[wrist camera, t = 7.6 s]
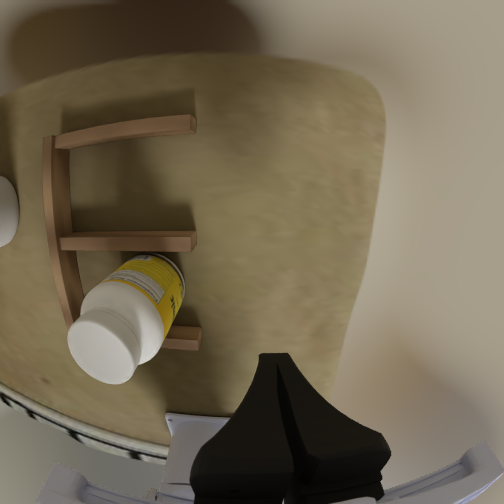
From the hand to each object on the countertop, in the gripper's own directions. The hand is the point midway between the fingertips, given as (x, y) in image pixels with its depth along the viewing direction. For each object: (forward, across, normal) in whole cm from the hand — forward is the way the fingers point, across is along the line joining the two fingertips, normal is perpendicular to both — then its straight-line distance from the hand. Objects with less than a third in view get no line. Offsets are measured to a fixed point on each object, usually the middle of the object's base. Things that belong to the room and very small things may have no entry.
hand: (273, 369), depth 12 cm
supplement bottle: (+9, +9, 0) cm, 13 cm away
